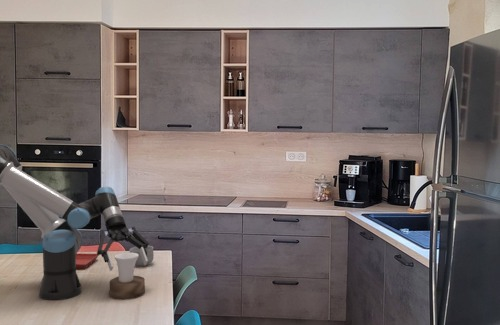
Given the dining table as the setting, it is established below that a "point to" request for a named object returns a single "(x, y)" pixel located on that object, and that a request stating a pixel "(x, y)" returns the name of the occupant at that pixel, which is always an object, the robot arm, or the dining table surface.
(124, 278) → the cup
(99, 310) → the dining table surface
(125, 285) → the walnut stand
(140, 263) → the teacup
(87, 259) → the plant saucer
